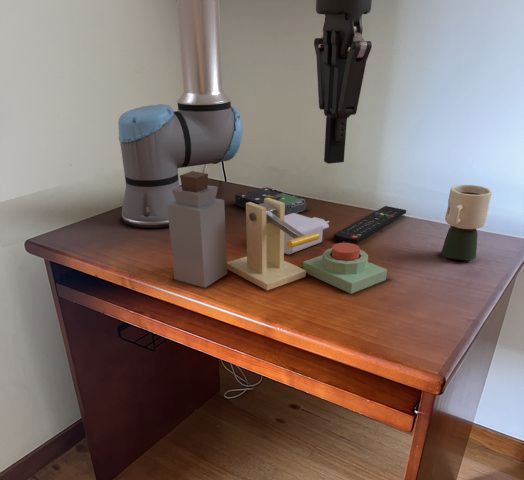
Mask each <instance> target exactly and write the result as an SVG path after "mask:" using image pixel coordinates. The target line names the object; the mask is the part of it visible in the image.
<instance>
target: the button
mask: <svg viewBox="0 0 524 480" xmlns="http://www.w3.org/2000/svg"><path fill="white" fill-rule="evenodd" d="M331 248H332V258H334V259H336V260H341V261H354V260H357V259H359V252H360V250H361V248H360V246H359V245H357V244H356V243H354V244H352V243H340V242H338V243H335V244H333V245H331Z"/></svg>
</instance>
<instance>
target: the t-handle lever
mask: <svg viewBox="0 0 524 480" xmlns="http://www.w3.org/2000/svg"><path fill="white" fill-rule="evenodd" d="M258 205H260V206H262V207H265V208H266V224H269V223H272V224H274V225H275V226H277V227H278V228H279V229H281V230H282V231H284V232H285V233H287V234H288V235H289V236H291V237H292V238H294V239H292V240H289V241H288V242H287V245H288V247H289V248H292V247H295V246H298V245H302V244H305V243H308V242H311V241H314V240H318V239H319V234H318V233H317V232H315V233H312V234H309V235H303V234H302V233H300V232H299V231H298V230H296V229H295V228H293V227H292V226H290V225H289V224H287V223H286V222H284V221H283V220H281V219H280V218H279V217H277V216H276V215H275V214H276V209H275V208H273V207H272V206H271V205H269V204H268V203H262V204H258Z"/></svg>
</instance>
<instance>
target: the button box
mask: <svg viewBox="0 0 524 480" xmlns="http://www.w3.org/2000/svg"><path fill="white" fill-rule="evenodd" d="M302 269H304V270H306V275H309V276H312V277H314V278H315V279H318V280H319V281H322V282H325V283H326V284H329V285H331V286H333V287H334V288H337V289H339V290H342V291H344V292H346V293H348V294H350V295H351V294H354V293H357V292H359V291H361V290H364V289H366V288H369V287H372V286H375V285H376V284H379V283H382V282H384V281H386V280H387V274H388V269H387V268H384V267H382V266H379V265H377V264H374V263H372V262H369V255H368V254H367V253H366V251H364V250H362V249H360V252H359V259H357V260H354V261H341V260H336V259H334V258H332V247H331V248H328V249H325V250H324V251H323V253H322V255H319V256H316V257H313V258H309V259H307V260H304V261H303V262H302Z"/></svg>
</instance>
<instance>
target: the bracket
mask: <svg viewBox="0 0 524 480" xmlns="http://www.w3.org/2000/svg"><path fill="white" fill-rule="evenodd" d="M264 203H268V204H269V205H271V206H272V207H273V208H275V209H276V214H275V215H276V216H277V217H279V218H280V219H281V220H283V221H284V218H285V203H282V202H280V201H277V200H274V199H271V198H264ZM245 225H246V228H245V229H246V230H245V231H246V256H244V257H240V258H237V259H233V260H231V261H227V271H230V272H232V273H234V274H235V275H238V276H239V277H241V278H243V279H245V280H247V281H249V282H250V283H253V284H254V285H257V286H258V287H259V288H261V289H264V290H265V291H269V290H272V289H276V288H278V287H281V286H283V285H286V284H290V283H292V282H295V281H298V280H300V279H303V278H305V277H307V273H306V270H304V269H303V267H302V268H301V267H299V266H297V265H296V264H293V263H290V262H289V261H286V260H285V253H284V231H282V230H281V229H279V228H278V227H277V226H275V225H274V224H272V223H269V224H266V208H265V207H262V206H260V205H257V204H255V203H252V202H248V203H246V208H245Z"/></svg>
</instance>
